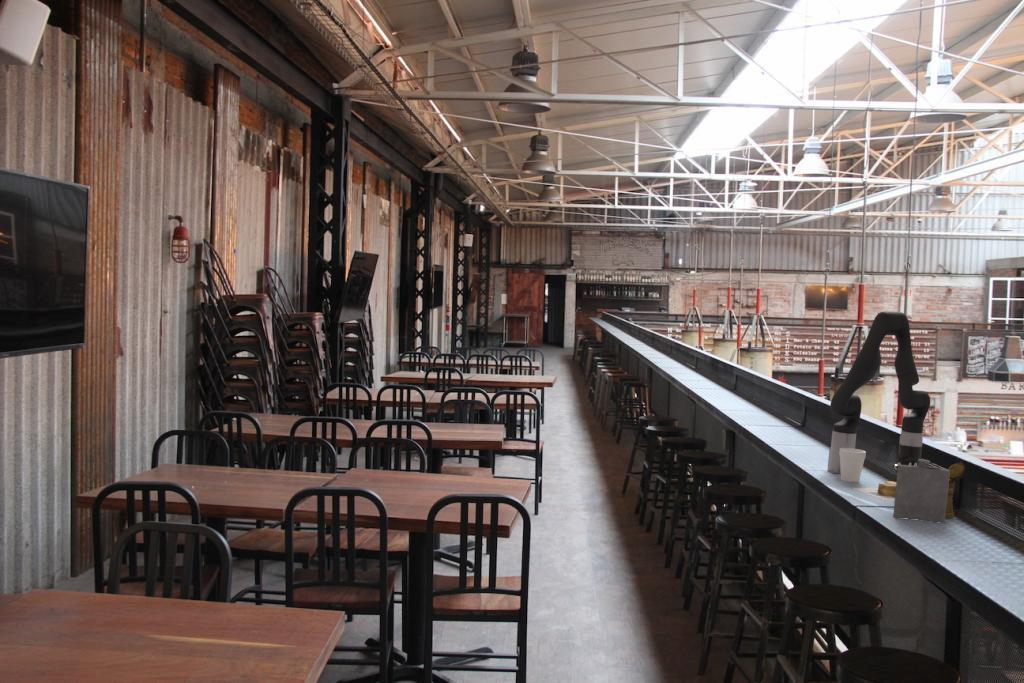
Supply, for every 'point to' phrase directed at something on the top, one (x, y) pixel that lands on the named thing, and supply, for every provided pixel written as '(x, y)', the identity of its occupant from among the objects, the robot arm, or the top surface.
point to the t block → (887, 488)
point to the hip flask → (921, 492)
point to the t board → (876, 493)
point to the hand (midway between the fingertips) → (906, 489)
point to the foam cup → (851, 464)
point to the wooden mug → (953, 485)
